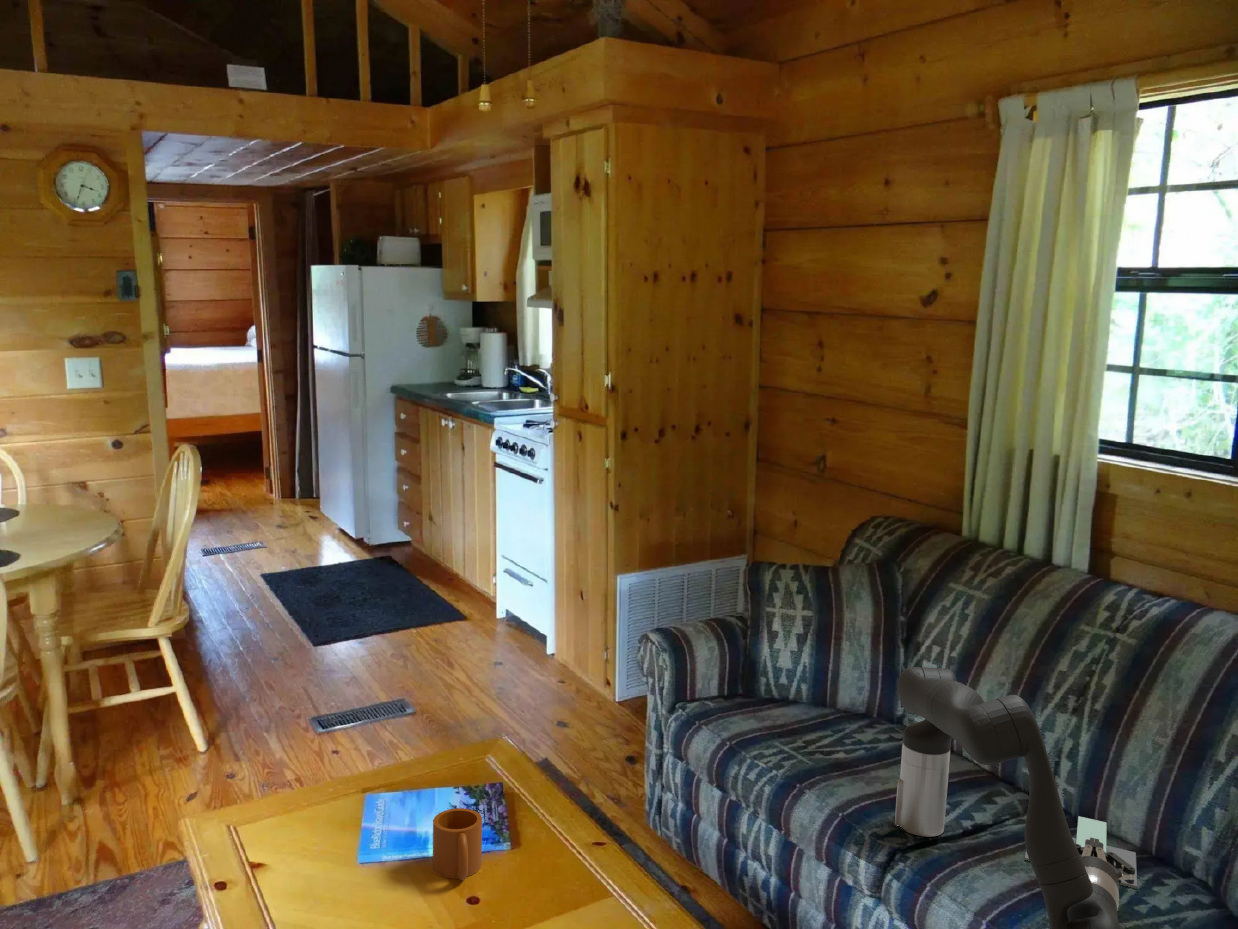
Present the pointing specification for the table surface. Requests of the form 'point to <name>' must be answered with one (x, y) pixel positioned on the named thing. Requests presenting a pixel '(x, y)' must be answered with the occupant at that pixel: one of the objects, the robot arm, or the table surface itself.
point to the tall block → (1091, 831)
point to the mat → (1123, 854)
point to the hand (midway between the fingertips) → (1093, 843)
